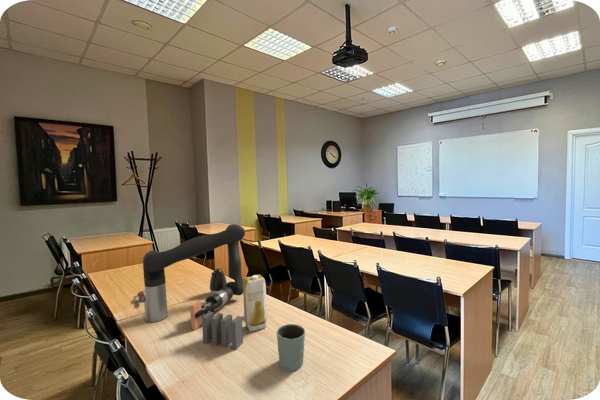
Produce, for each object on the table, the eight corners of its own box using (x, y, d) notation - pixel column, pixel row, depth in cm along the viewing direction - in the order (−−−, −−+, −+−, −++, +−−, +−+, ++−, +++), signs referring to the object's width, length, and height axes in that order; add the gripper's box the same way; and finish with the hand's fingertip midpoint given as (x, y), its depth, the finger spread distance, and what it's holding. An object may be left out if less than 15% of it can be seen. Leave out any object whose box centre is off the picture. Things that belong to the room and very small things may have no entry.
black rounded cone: (206, 295, 164) (204, 270, 163) (217, 289, 173) (216, 265, 172) (220, 298, 160) (218, 272, 159) (231, 291, 170) (229, 266, 169)
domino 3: (212, 345, 113) (211, 318, 112) (220, 338, 118) (218, 313, 117) (216, 345, 112) (215, 319, 112) (224, 339, 117) (222, 313, 116)
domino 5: (232, 348, 110) (230, 321, 109) (238, 341, 115) (237, 315, 114) (236, 349, 109) (235, 322, 109) (243, 342, 114) (241, 316, 113)
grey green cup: (277, 355, 104) (276, 324, 104) (304, 353, 105) (303, 322, 105) (278, 374, 94) (276, 340, 94) (307, 371, 95) (306, 337, 95)
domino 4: (222, 346, 111) (220, 320, 111) (229, 340, 116) (228, 314, 116) (226, 347, 111) (225, 320, 110) (233, 340, 115) (232, 315, 115)
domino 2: (203, 343, 115) (201, 317, 114) (211, 336, 119) (209, 311, 119) (207, 343, 114) (205, 317, 113) (214, 337, 119) (213, 312, 118)
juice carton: (248, 333, 121) (246, 279, 119) (243, 325, 128) (241, 274, 126) (268, 328, 125) (266, 275, 123) (262, 320, 132) (260, 270, 130)
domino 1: (191, 329, 125) (190, 305, 125) (198, 323, 130) (197, 300, 129) (195, 329, 125) (193, 306, 124) (202, 324, 130) (201, 301, 129)
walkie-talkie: (134, 297, 167) (136, 309, 150) (133, 289, 166) (135, 301, 150) (150, 293, 171) (154, 304, 155) (150, 286, 171) (154, 297, 155)
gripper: (205, 291, 144) (180, 305, 127) (228, 294, 139) (205, 309, 123) (206, 305, 144) (181, 321, 128) (228, 309, 139) (206, 326, 123)
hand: (193, 315), depth 125 cm, fingers closed on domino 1, 1 cm apart
